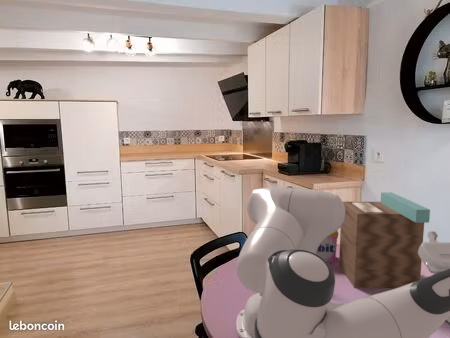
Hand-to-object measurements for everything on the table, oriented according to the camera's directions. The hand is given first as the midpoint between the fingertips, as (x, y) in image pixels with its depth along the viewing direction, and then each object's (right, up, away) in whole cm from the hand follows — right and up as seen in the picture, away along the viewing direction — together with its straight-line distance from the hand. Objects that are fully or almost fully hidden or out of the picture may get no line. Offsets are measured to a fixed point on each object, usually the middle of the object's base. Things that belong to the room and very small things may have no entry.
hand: (449, 233), depth 90 cm
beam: (+1, +2, +26) cm, 26 cm away
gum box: (-25, -21, +53) cm, 63 cm away
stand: (-4, -23, +36) cm, 42 cm away
